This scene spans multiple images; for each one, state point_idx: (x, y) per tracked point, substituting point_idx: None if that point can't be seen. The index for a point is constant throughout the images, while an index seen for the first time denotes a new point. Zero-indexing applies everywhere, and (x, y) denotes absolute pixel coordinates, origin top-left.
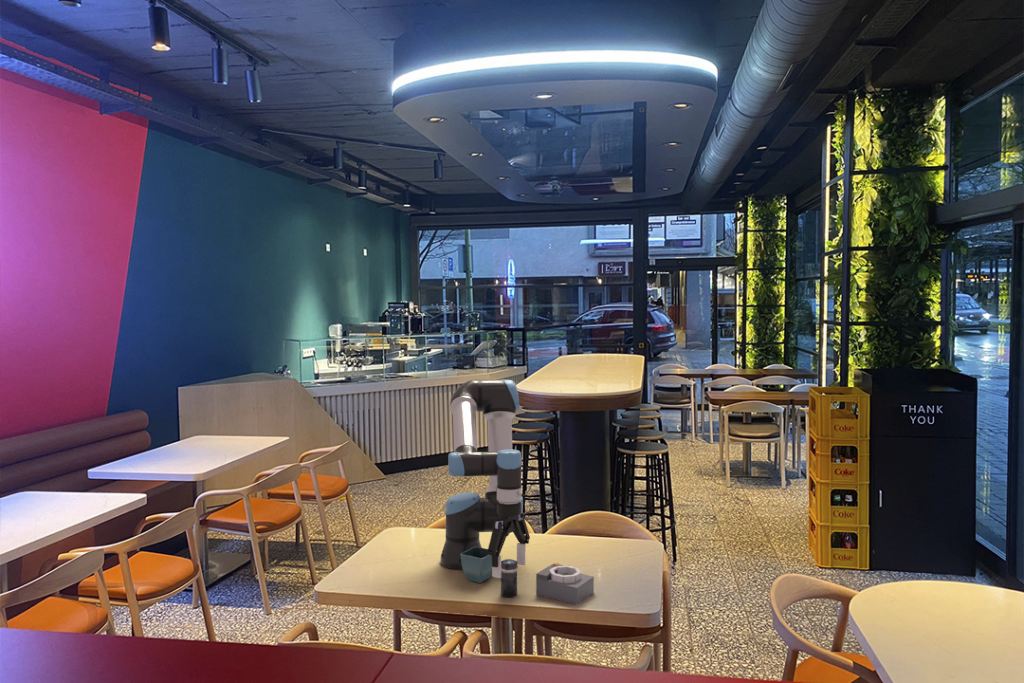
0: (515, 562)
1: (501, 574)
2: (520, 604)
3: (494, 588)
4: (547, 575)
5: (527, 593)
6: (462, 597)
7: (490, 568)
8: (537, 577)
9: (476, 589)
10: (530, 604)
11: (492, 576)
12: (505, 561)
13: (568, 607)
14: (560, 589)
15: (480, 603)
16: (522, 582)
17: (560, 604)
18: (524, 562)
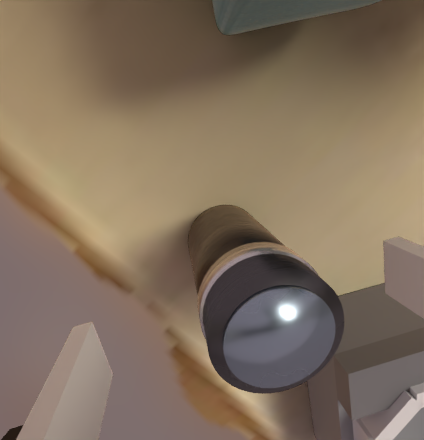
0: (303, 374)
1: (201, 272)
2: (185, 337)
3: (229, 139)
4: (360, 417)
5: None
6: (20, 107)
7: (324, 13)
8: (337, 364)
9: (152, 77)
10: None
11: (73, 329)
12: (258, 324)
13: (281, 435)
14: (329, 427)
15: (55, 230)
16: (364, 179)
17: (283, 408)
18: (405, 301)
